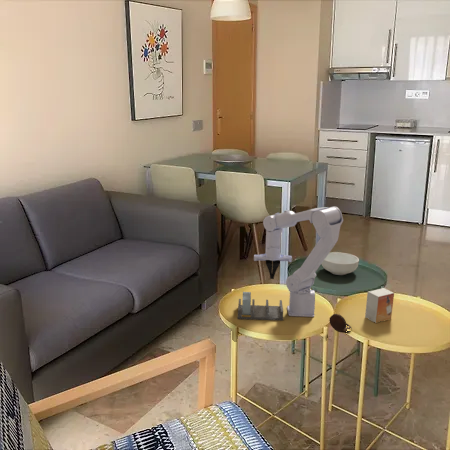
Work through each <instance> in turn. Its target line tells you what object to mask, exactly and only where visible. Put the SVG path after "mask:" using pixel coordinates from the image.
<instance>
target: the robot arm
mask: <svg viewBox="0 0 450 450" xmlns="http://www.w3.org/2000/svg"><path fill="white" fill-rule="evenodd" d="M304 221H309V223H310V224H312V225H313V227H314V229H315V231H316V233H317V235H318V237H319V238H320V239H319V240H318V241H317V242H316V244H315V245H314V247H313V248H312V250H311V251H310V252H309V255H308V256H307V257H306V259H305V260H304V261H303V263H302V265H301V266H300V267H299V268H298V269H297V270H295V271H294V272H292V274H291V275H289V276H287V278H286V280H285V285H286V287H287V289H288V291H289V302H288V303H289V305H287V307H286V308H287V314H288V316H289V317H308V318H309V317H312V318H314V317H315V309H316V292H315V290H314V289H311V288H312V286H313V285H314V283H315V278H316V277H317V273H316V272H317V271H318V269H319V267H320V266H322V264H321V263H322V262H323V261H324V259H325V258H326V256H327V255H328V254H329V253H330V252H332V250H333V248H334V247H335V246H336V244H337V242H338V240H339V237H340V230H341V226H342V224H343V222H344V217H343V214H342V211H341V210H340V208H339V207H338V206H335V205H334V206H330V207H329V206H327V207H326V206H323V207H315V208H311V209H307V210H303V211H300V212H295V211H293V210H289V209H286V210H283V212H281V213H280V212H276V213H274V214H272V215H267V216H265V218H264V219H263V221H262V223H263V227H264V229H265V234H266V235H265V253H260V254H254V255H253V261H254V262H257V261H261V262H264V261H265V265H266V267H267V270H268V273H269V279H270V280H275V279H274V278H275V275H276V272H277V270H278V267H280V262H289V263H292V261H293V257H292V255H287V254H282V253H281V249H282V248H281V244H282V243H281V242H282V233H283V229H287V228H291V227H295V226H296V225H297V223H299V222H304Z"/></svg>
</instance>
